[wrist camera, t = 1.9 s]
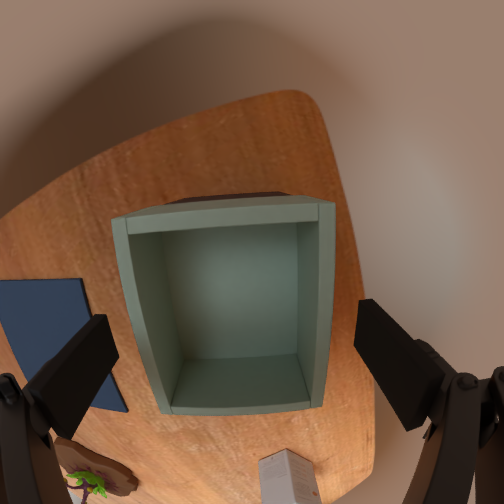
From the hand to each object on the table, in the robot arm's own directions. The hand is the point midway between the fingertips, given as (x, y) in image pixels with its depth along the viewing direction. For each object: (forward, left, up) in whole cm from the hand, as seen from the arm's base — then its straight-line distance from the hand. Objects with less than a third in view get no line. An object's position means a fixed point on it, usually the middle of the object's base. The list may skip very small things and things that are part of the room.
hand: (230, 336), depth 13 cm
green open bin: (0, 0, -6) cm, 6 cm away
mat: (+11, -27, -13) cm, 32 cm away
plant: (+45, -35, -13) cm, 58 cm away
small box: (+35, +5, -13) cm, 37 cm away
